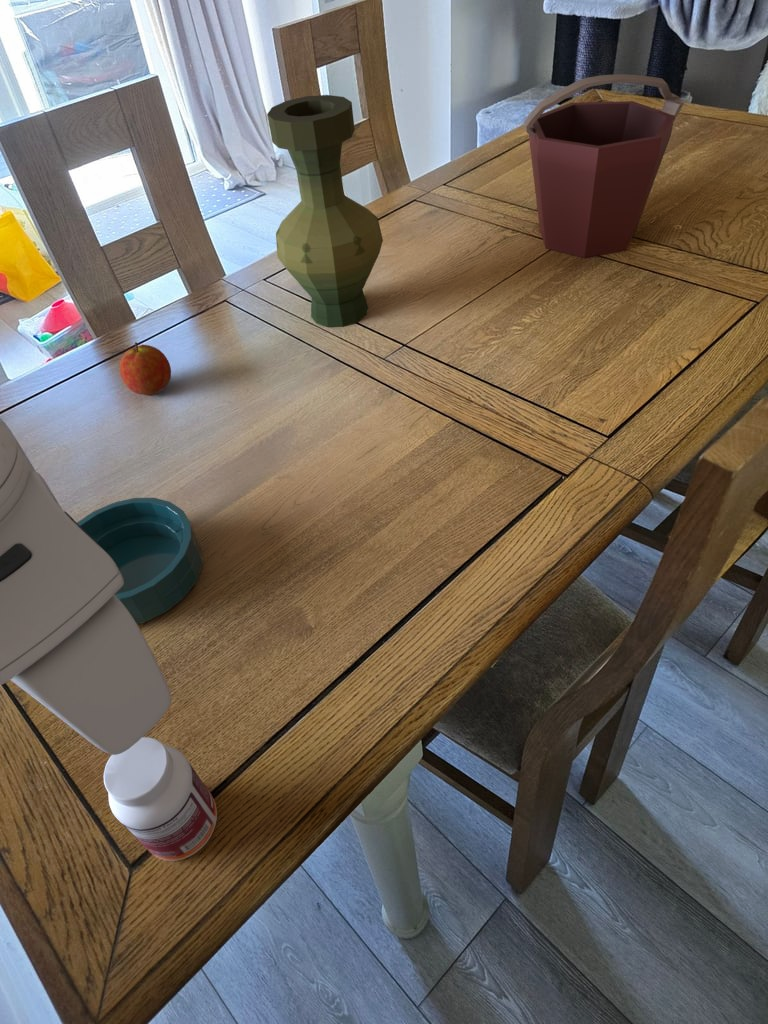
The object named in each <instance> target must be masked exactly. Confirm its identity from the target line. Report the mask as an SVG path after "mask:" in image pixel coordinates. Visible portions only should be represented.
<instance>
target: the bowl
mask: <svg viewBox="0 0 768 1024" xmlns="http://www.w3.org/2000/svg"><path fill="white" fill-rule="evenodd" d="M76 523H77V524H78V525H79V526H80V527H81V528H82V529H83V530H84V531H86V532H87V533H88V534H89V535H90V536H91V537H92V538H93V539H94V540H95V541H96V542H97V543H98V544H99V545H100V546H101V548H102V549H103V550H104V551H105V552H106V553H107V554H108V555H109V556H110V557H111V558H112V559H113V561H114V562H115V564H116V565H117V567H118V569H119V571H120V573H121V574H122V577H123V579H124V585H123V586H122V587H121V588H120V589H119V590H118V591H117V592H116V593H115V595H116V596H117V597H118V598H119V600H120V601H121V602H122V603H123V605H124V606H125V607H126V609H127V610H128V611H129V613H130V614H131V616H132V617H133V619H134V620H135V622H136V623H137V625H139V624H143V623H146V622H148V621H151V620H153V619H155V618H157V617H160V616H161V615H163V614H165V613H166V612H169V610H171V609H172V608H173V607H175V606H176V605H177V604H179V603H180V602H181V601H182V600H183V599H184V598H185V597H187V595H188V593H189V592H190V591H191V589H192V588H193V587H194V586H195V584H196V583H197V581H198V579H199V575H200V573H201V570H202V567H203V550H202V547H201V545H200V543H199V542H200V541H199V540H198V538H197V535H196V532H195V530H194V528H193V526H192V523H191V521H190V519H189V518H188V516H187V514H186V513H185V511H184V510H183V509H182V508H180V507H179V506H177V505H176V504H174V503H173V502H172V501H168V500H166V499H161V498H157V497H132V498H128V499H124V500H118V501H114V502H112V503H109V504H107V505H105V506H102V507H100V508H98V509H95V510H94V511H92V512H90V513H89V514H87V515H86V516H84V517H83V518H82V519H80V520H79V521H77V522H76Z"/></svg>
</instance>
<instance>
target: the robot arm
mask: <svg viewBox="0 0 768 1024" xmlns="http://www.w3.org/2000/svg"><path fill="white" fill-rule="evenodd" d="M123 585H124V579H123V577H122V574H121V573H120V571H119V569H118V567H117V565H116V564H115V562H114V561H113V559H112V558H111V557H110V556H109V555H108V554H107V553H106V552H105V551H104V550H103V549H102V548H101V546H100V545H99V544H98V543H97V542H96V541H95V540H94V539H93V538H92V537H91V536H90V535H89V534H88V533H87V532H86V531H84V530H83V529H82V528H81V527H80V526H79V525H78V524H77V522H76V520H75V519H74V518H73V517H72V516H71V515H70V514H69V513H68V512H67V511H65V510H64V509H63V508H62V506H61V504H60V503H59V501H58V500H57V498H56V497H55V494H54V493H53V492H52V490H51V489H50V487H49V485H48V483H47V482H46V480H45V479H44V477H43V476H42V475H41V474H40V473H39V472H38V471H36V469H35V467H34V466H33V464H32V462H31V461H30V459H29V457H28V456H27V454H26V453H25V450H23V448H22V446H21V445H20V443H19V441H18V439H17V438H16V437H15V435H14V433H13V431H12V430H11V429H10V427H9V426H8V425H7V423H6V422H5V421H3V419H2V418H1V417H0V685H4V684H6V683H8V682H9V681H11V682H12V683H13V684H15V685H16V686H17V687H19V688H20V689H21V690H23V691H24V692H25V693H27V694H28V695H29V696H31V697H32V698H33V699H34V700H35V701H37V702H38V703H40V704H41V705H42V706H43V707H45V708H46V709H47V710H48V711H50V712H51V713H52V714H54V715H55V716H56V717H57V718H58V719H60V720H61V721H62V722H64V723H65V724H66V725H68V727H70V728H71V729H72V730H73V731H75V732H76V733H77V734H78V735H80V736H81V737H83V739H85V740H87V741H88V742H89V743H91V744H92V745H93V746H95V747H96V748H97V749H99V750H100V751H102V752H104V753H105V754H107V755H111V756H112V755H117V754H120V753H123V752H125V751H126V750H128V749H129V748H130V747H132V746H133V745H134V744H135V743H137V742H138V741H139V740H140V739H141V738H142V737H145V736H146V734H148V733H149V731H151V730H152V728H154V726H155V725H156V724H157V723H158V722H159V721H160V720H161V719H162V718H163V716H165V714H166V712H167V711H168V710H169V708H170V706H171V703H172V695H171V694H172V693H171V691H170V690H171V689H170V687H169V685H168V683H167V680H166V678H165V675H164V674H163V671H162V670H161V668H160V666H159V663H158V661H157V659H156V657H155V655H154V653H153V651H152V649H151V647H150V645H149V643H148V641H147V639H146V637H145V636H144V634H143V632H142V631H141V628H140V626H139V624H137V623H136V622H135V620H134V619H133V617H132V616H131V614H130V613H129V611H128V610H127V609H126V607H125V606H124V605H123V603H122V602H121V601H120V600H119V598H118V597H117V596H116V595H115V593H116V592H117V591H118V590H119V589H120V588H121V587H122V586H123Z"/></svg>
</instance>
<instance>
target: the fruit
mask: <svg viewBox="0 0 768 1024" xmlns="http://www.w3.org/2000/svg"><path fill="white" fill-rule="evenodd" d="M134 345H135V346H134V347H132V348H130V349H128V350H126V351H125V353H123V355H122V357H121V359H120V362H119V375H120V377H121V380H122V382H123V384H124V385H125V386H126V388H127V389H128V390H130V391H131V392H133V393H136V394H137V395H142V396H146V397H147V396H148V397H151V396H155V395H158V393H160V392H161V391H163V390H164V389H165V388H166V387H167V386H168V384H169V383H170V381H171V379H172V378H171V377H172V368H171V364H170V362H169V360H168V358H167V356H166V355H165V354H164V353H163V352H162V351H161V349H158V348H157V347H155V346H152V345H149V344H140V345H138V342H134Z"/></svg>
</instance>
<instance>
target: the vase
mask: <svg viewBox="0 0 768 1024" xmlns="http://www.w3.org/2000/svg"><path fill="white" fill-rule="evenodd" d="M353 112H354V111H353V101H351V100H350V99H349V98H346V97H345V96H339V95H331V94H320V95H306V96H302V97H297V98H292V99H288V100H285V101H283V102H281V103H277V104H276V105H274V106H271V108H270V109H269V111H268V112H267V113H266V116H267V122H268V127H269V132H270V138H271V142H272V143H273V144H274V145H275V146H276V148H278V149H281V150H287V151H288V154H289V156H290V159H291V161H292V163H293V166H294V168H295V170H296V177H297V183H298V188H299V195H300V202H299V203H298V204H296V206H295V207H294V208H293V209H292V210H291V211H290V212H289V213H288V214H287V216H285V217H284V219H283V220H282V221H281V222H280V224H279V226H278V228H277V230H276V232H275V240H276V241H275V242H276V256H277V259H278V260H279V262H280V263H281V264H282V265H283V267H284V268H285V269H286V270H287V271H288V273H289V274H290V275H291V276H292V277H293V278H294V280H295V281H296V282H297V283H298V284H299V285H300V287H301V288H302V289H303V290H304V291H305V292H306V294H308V295H309V297H310V298H311V299H310V300H311V303H310V317H311V319H312V320H313V321H314V323H315V324H317V325H320V326H323V327H326V328H344V327H348V326H350V325H353V324H354V325H355V324H356V323H358V322H360V321H361V320H363V319H364V318H366V316H367V315H368V311H369V304H368V301H367V298H366V295H365V292H364V287H365V285H366V283H367V281H368V280H369V277H370V274H371V272H372V270H373V269H374V266H375V265H376V264H375V263H376V261H377V259H378V257H379V255H380V253H381V249H382V246H383V242H384V239H383V235H382V234H383V233H382V231H381V226H380V222H379V218H378V216H376V215H375V213H373V212H372V211H371V210H370V209H369V208H367V207H365V206H364V205H362V204H360V203H359V202H357V201H356V200H353V199H352V198H350V197H348V196H347V195H345V191H344V190H345V189H344V183H343V176H342V168H341V158H342V150H343V149H342V147H343V143H344V142H346V141H347V140H350V139H351V138H352V137H353V135H354V133H355V130H356V127H355V120H354V113H353Z"/></svg>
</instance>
